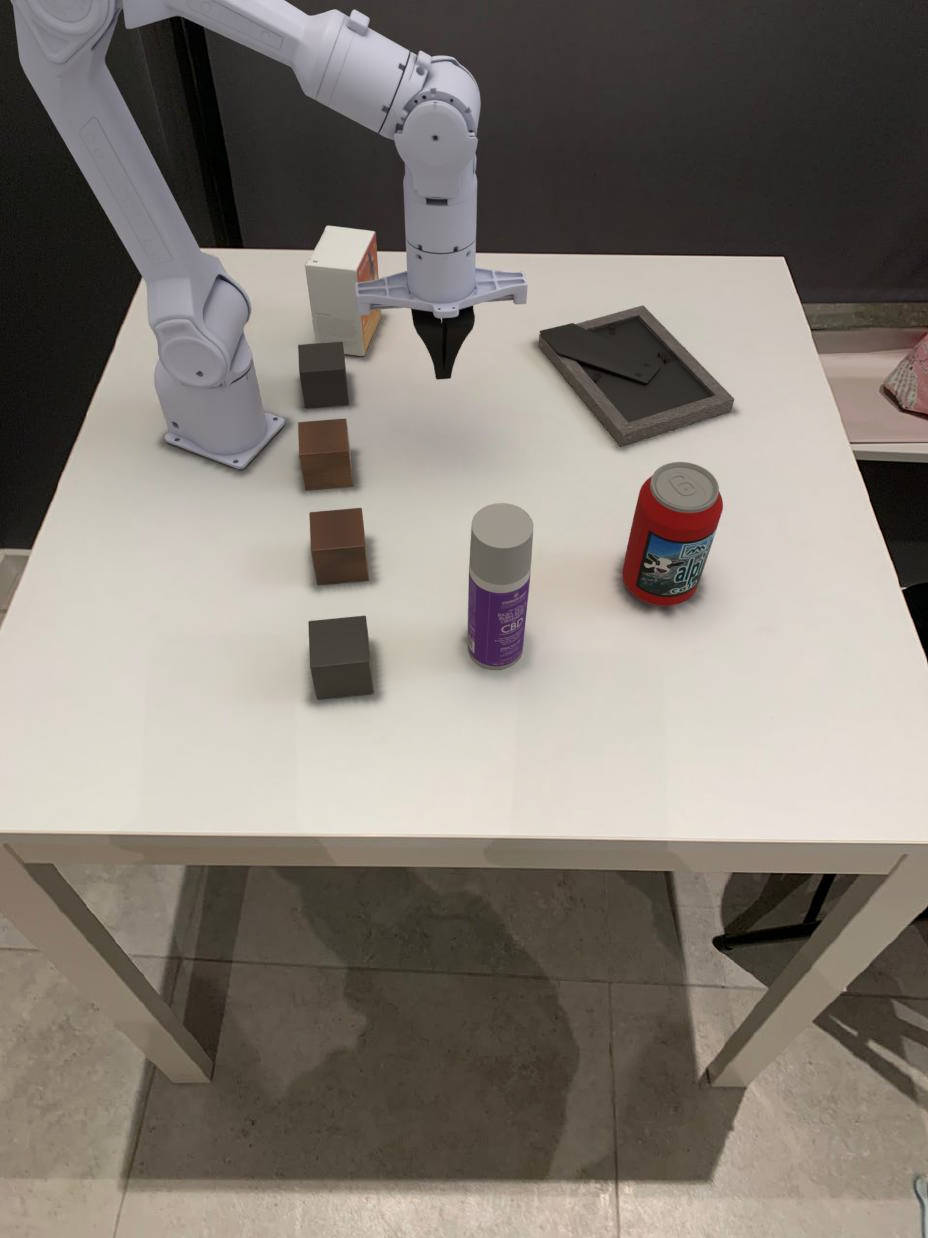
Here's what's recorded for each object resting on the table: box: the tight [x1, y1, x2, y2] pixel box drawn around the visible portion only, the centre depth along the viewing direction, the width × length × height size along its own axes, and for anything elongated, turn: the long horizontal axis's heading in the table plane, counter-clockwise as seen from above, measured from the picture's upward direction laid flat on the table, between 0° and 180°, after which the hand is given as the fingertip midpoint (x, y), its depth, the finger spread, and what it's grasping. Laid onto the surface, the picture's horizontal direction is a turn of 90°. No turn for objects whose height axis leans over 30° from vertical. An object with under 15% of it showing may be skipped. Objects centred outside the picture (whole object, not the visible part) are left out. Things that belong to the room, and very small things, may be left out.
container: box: [467, 502, 534, 671], centre depth 72 cm, size 5×5×15 cm
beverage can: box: [621, 461, 724, 607], centre depth 78 cm, size 7×7×12 cm
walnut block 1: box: [297, 418, 354, 491], centre depth 89 cm, size 5×5×5 cm
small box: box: [304, 225, 382, 357], centre depth 100 cm, size 8×6×10 cm
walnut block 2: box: [308, 507, 370, 586], centre depth 82 cm, size 5×5×5 cm
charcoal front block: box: [307, 615, 375, 700], centre depth 75 cm, size 5×5×5 cm
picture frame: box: [537, 304, 736, 447], centre depth 100 cm, size 13×2×18 cm
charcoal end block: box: [297, 342, 350, 409], centre depth 97 cm, size 5×5×5 cm
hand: (442, 372), depth 86 cm, fingers closed
